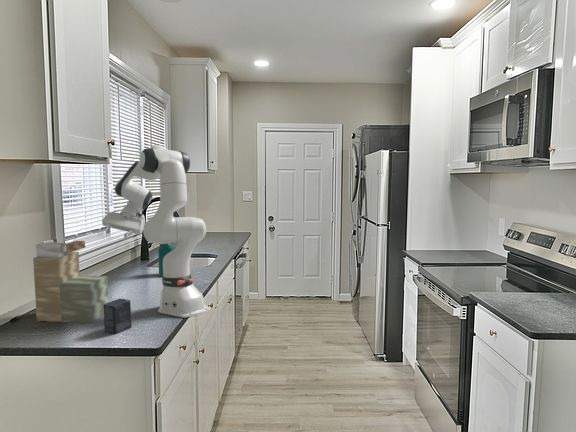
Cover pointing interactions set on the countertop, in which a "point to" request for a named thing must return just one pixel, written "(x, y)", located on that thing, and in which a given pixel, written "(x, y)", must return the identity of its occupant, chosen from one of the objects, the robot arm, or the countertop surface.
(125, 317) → the box
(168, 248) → the pitcher
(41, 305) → the riser
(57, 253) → the mallet
